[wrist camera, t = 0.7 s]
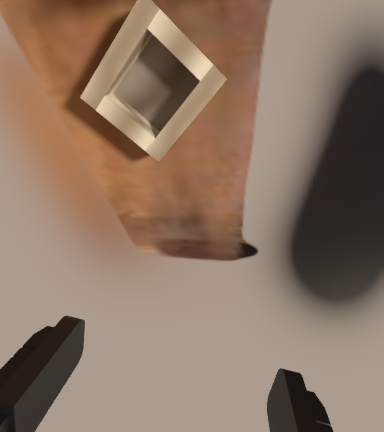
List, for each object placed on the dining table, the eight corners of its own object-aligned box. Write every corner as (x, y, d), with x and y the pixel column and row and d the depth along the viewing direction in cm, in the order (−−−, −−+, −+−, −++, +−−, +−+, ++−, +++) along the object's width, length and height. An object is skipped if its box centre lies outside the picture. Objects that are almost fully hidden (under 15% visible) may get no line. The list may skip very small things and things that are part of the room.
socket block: (96, 93, 33) (80, 97, 29) (152, 2, 28) (142, -10, 24) (164, 150, 36) (158, 161, 32) (224, 77, 32) (227, 79, 27)
